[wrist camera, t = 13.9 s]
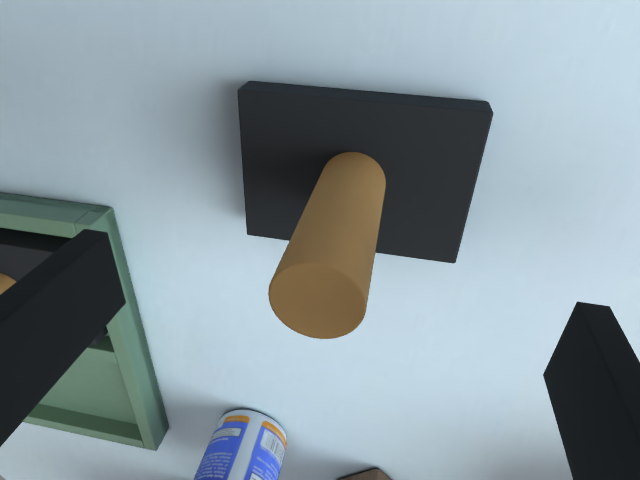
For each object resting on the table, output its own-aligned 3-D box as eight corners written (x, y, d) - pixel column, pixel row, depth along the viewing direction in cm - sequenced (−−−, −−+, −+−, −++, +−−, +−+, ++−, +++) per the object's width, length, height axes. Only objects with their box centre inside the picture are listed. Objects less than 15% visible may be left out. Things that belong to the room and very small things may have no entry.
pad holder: (-97, 179, 26) (-132, 193, 24) (112, 207, 24) (90, 225, 22) (19, 396, 37) (0, 417, 35) (169, 428, 35) (156, 451, 34)
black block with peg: (248, 80, 19) (126, 167, 11) (489, 101, 17) (543, 218, 10) (256, 220, 23) (168, 358, 15) (453, 246, 21) (471, 414, 13)
